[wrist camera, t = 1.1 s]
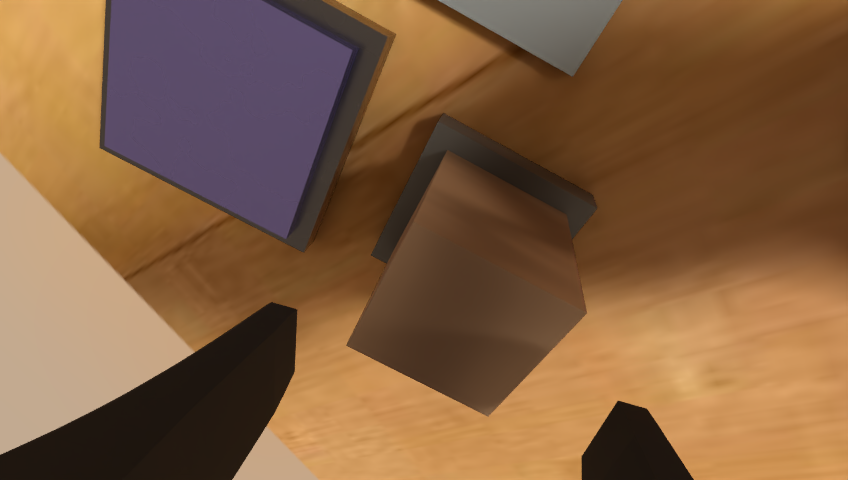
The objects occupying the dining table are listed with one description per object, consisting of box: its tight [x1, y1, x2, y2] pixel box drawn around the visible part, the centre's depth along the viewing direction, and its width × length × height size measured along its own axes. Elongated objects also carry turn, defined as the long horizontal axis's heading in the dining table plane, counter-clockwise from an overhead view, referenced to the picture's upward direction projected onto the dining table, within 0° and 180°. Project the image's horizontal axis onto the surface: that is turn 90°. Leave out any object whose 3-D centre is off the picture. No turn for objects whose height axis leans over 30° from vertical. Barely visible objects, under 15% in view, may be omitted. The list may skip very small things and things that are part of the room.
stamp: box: [346, 113, 597, 416], centre depth 14 cm, size 6×6×6 cm
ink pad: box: [100, 0, 396, 252], centre depth 15 cm, size 9×9×2 cm
